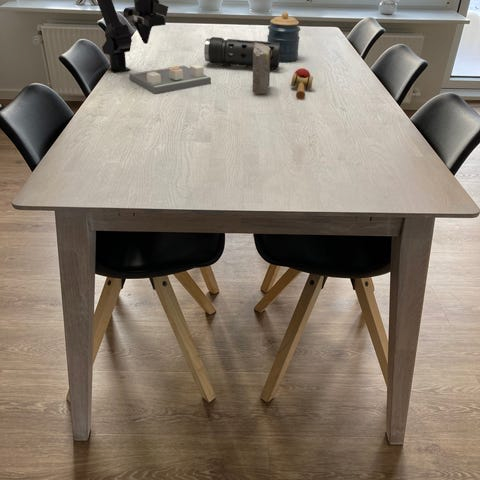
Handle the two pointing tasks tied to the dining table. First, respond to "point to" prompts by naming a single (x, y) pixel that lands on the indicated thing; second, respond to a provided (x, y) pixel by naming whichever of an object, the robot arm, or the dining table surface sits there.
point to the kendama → (301, 82)
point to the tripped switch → (176, 73)
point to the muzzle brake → (237, 52)
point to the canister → (285, 36)
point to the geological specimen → (261, 68)
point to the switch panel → (170, 79)
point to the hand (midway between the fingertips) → (145, 43)
